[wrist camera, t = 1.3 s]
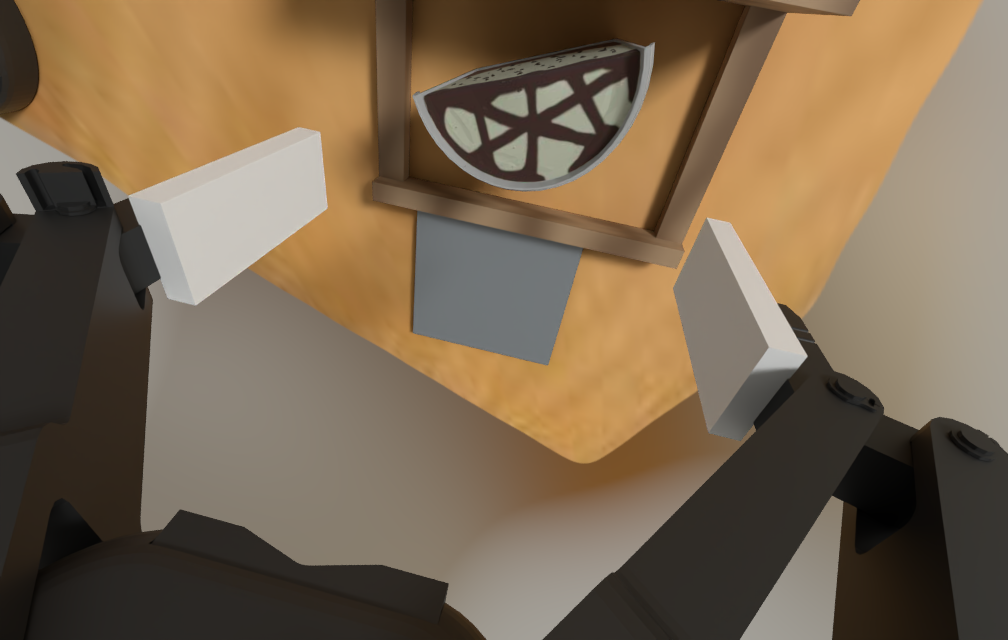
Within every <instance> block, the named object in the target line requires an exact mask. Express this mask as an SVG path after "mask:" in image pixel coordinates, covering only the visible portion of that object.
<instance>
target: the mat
mask: <svg viewBox="0 0 1008 640" xmlns="http://www.w3.org/2000/svg"><path fill="white" fill-rule="evenodd" d="M582 251H583V248H582V247H577V246H573V245H568V244H564V243H559V242H555V241H551V240H546V239H542V238H537V237H533V236H528V235H524V234H520V233H515V232H511V231H506V230H502V229H497V228H493V227H489V226H484V225H480V224H475V223H471V222H466V221H462V220H458V219H453V218H449V217H444V216H440V215H435V214H431V213H427V212H422V211H418V210H417V237H416V266H415V294H414V322H413V333H415V334H419V335H423V336H427V337H432V338H436V339H440V340H444V341H448V342H452V343H457V344H461V345H465V346H469V347H473V348H477V349H482V350H486V351H490V352H494V353H498V354H502V355H507V356H511V357H515V358H519V359H523V360H527V361H532V362H536V363H540V364H544V365H548V364H549V360H550V357H551V354H552V350H553V347H554V344H555V340H556V337H557V334H558V330H559V327H560V324H561V320H562V317H563V314H564V310H565V307H566V304H567V300H568V297H569V294H570V290H571V287H572V284H573V280H574V277H575V274H576V270H577V267H578V264H579V261H580V257H581V254H582Z"/></svg>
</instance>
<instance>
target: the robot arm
mask: <svg viewBox="0 0 1008 640" xmlns="http://www.w3.org/2000/svg"><path fill="white" fill-rule="evenodd" d="M37 85H38V65H37V59H36V54H35V50H34V46H33V43H32V40H31V37H30V34H29V32H28V29H27V27H26V24H25V22H24V20H23V18H22V16H21V14H20V12H19V10H18V8H17V6H16V4H15V2H14V1H13V0H0V114H3V113H9V112H14V111H18V110H20V109H22V108H24V107H25V106H27V105H28V104H29V103H30V102H31V100H32V99H33V97H34V95H35V93H36V90H37ZM16 175H17V177H18V178H19V180H20V182H21V184H22V186H23V188H24V190H25V192H26V193H27V195H28V197H29V199H30V201H31V203H32V205H33V207H34V208H35V210H36V212H35V215H28V214H12V212H11V210H10V208H9V207H8V205H7V203H6V201H5V200H4V198H3V196H2V195H1V194H0V640H486V638H484V636H483V635H482V634H481V633H480V632H479V630H478V629H477V628H476V627H475V626H474V625H473V624H472V623H471V622H470V621H469V620H468V619H467V618H465V617H464V616H463V615H462V614H461V613H460V612H458V611H457V610H455V609H454V608H452V607H451V606H449V605H448V604H446V603H445V600H446V595H447V590H448V583H445V582H441V581H437V580H434V579H430V578H427V577H423V576H420V575H416V574H412V573H409V572H405V571H402V570H398V569H394V568H391V567H387V566H383V565H331V566H329V565H328V566H327V565H326V566H307V565H301V564H299V563H297V562H295V561H293V560H292V559H291V558H289V557H288V556H286V555H285V554H283V553H282V552H280V551H279V550H277V549H276V548H274V547H273V546H271V545H270V544H268V543H267V542H265V541H264V540H262V539H261V538H259V537H258V536H257V535H255V534H253V533H252V532H251V531H249V530H248V529H246V528H245V527H242V526H238V525H234V524H231V523H227V522H224V521H220V520H217V519H213V518H209V517H206V516H202V515H198V514H194V513H191V512H187V511H184V510H179V511H178V512H177V514H176V515H175V516H174V517H173V518H172V520H171V521H170V522H169V523H168V525H167V526H166V527H165V528H164V529H163V530H155V531H147V532H142V531H141V523H140V515H141V497H142V480H143V462H144V445H145V426H146V409H147V392H148V373H149V357H150V339H151V322H152V304H153V299H152V296H151V294H150V292H149V289H148V286H149V285H151V284H152V283H154V282H156V281H157V280H159V279H160V280H161V283H162V285H163V288H164V290H165V292H166V295H167V298H168V299H171V300H175V301H179V302H183V303H187V304H191V305H195V306H196V305H197V304H199V303H200V302H201V301H203V300H204V299H205V298H207V297H208V296H209V295H211V294H212V293H214V292H215V291H216V290H218V289H219V288H220V287H222V286H223V285H224V284H226V283H227V282H228V281H230V280H231V279H232V278H234V277H235V276H237V275H238V274H239V273H241V272H242V271H243V270H245V269H246V268H247V267H249V266H250V265H252V264H253V263H254V262H256V261H257V260H258V259H260V258H261V257H262V256H264V255H265V254H266V253H268V252H269V251H270V250H272V249H273V248H275V247H276V246H277V245H279V244H280V243H281V242H283V241H284V240H285V239H287V238H288V237H289V236H291V235H292V234H294V233H295V232H296V231H298V230H299V229H300V228H302V227H303V226H304V225H306V224H307V223H308V222H310V221H311V220H312V219H314V218H315V217H317V216H318V215H319V214H321V213H322V212H323V211H325V210H326V209H327V208H328V207H327V197H326V187H325V177H324V166H323V156H322V146H321V136H320V132H318V131H314V130H309V129H305V128H300V127H298V128H295V129H293V130H290V131H288V132H286V133H283V134H281V135H278V136H276V137H273V138H271V139H268V140H266V141H263V142H261V143H258V144H256V145H253V146H251V147H248V148H246V149H243V150H241V151H238V152H236V153H233V154H231V155H228V156H226V157H223V158H221V159H218V160H216V161H213V162H211V163H208V164H206V165H204V166H201V167H199V168H196V169H194V170H191V171H189V172H186V173H184V174H181V175H179V176H176V177H174V178H171V179H169V180H166V181H164V182H161V183H159V184H156V185H154V186H151V187H149V188H146V189H144V190H141V191H139V192H136V193H134V194H131V195H129V196H128V199H125V200H123V201H120V202H118V203H115V204H113V202H112V200H111V198H110V195H109V193H108V190H107V188H106V185H105V183H104V181H103V178H102V176H101V173H100V171H99V169H98V167H96V166H94V165H92V164H88V163H82V162H68V161H66V162H65V161H63V162H48V163H43V164H37V165H32V166H30V167H27V168H24V169H21V170H20V171H19V172H17V173H16ZM673 290H674V294H675V298H676V302H677V306H678V310H679V314H680V319H681V323H682V327H683V331H684V335H685V339H686V343H687V347H688V351H689V355H690V359H691V364H692V368H693V372H694V376H695V380H696V384H697V388H698V392H699V396H700V400H701V404H702V408H703V413H704V417H705V421H706V425H707V429H708V433H711V434H714V435H719V436H723V437H727V438H731V439H735V440H739V441H741V440H742V439H743V437H744V436H745V435H746V433H747V432H748V431H749V430H750V428H751V427H752V426H753V425H754V426H755V428H756V432H755V433H754V434H753V435H752V436H751V437H750V438H749V439H748V440H747V441H746V442H745V443H744V444H743V445H742V446H741V447H740V448H739V449H738V450H737V451H736V452H735V453H734V454H733V455H732V456H731V457H730V458H729V459H728V460H727V461H726V462H725V463H724V464H723V465H722V466H721V467H720V468H719V469H718V470H717V471H716V472H715V473H714V474H713V475H712V476H711V477H710V478H709V479H708V480H707V481H706V482H705V483H704V484H703V485H702V486H701V487H700V488H699V489H698V490H697V491H696V492H695V493H694V494H693V495H692V496H691V497H690V498H689V499H688V500H687V501H686V502H685V503H684V504H683V505H682V506H681V507H680V508H679V509H678V510H677V511H676V512H675V514H673V516H671V518H669V519H668V520H667V522H665V523H664V524H663V526H662V527H660V528H659V529H658V530H657V532H655V534H654V535H653V536H652V537H651V538H650V539H649V540H648V541H647V542H646V543H645V544H644V545H643V546H642V547H641V548H640V549H639V550H638V551H637V552H636V553H635V554H634V555H633V556H632V557H631V558H630V559H629V560H628V561H627V562H626V563H625V564H624V565H623V566H622V567H621V568H620V569H619V570H617V571H616V572H615V573H611V574H609V575H608V576H607V577H606V578H604V580H603V581H601V582H600V583H599V584H598V585H597V586H596V587H595V588H594V589H593V590H592V591H591V592H590V593H589V594H588V595H587V596H586V597H585V598H584V599H583V600H582V601H581V602H580V603H579V604H578V605H577V606H576V607H575V608H574V609H573V610H572V611H571V612H570V613H569V614H568V615H567V616H566V617H565V618H564V619H563V620H562V621H561V622H560V623H559V624H558V625H557V626H556V627H555V628H554V629H553V630H552V631H551V632H550V633H549V634H548V635H547V636H546V637H545V638H544V639H543V640H740V638H741V637H742V635H743V633H744V632H745V630H746V629H747V627H748V626H749V624H750V623H751V621H752V619H753V618H754V616H755V615H756V613H757V612H758V610H759V608H760V607H761V605H762V604H763V602H764V601H765V599H766V597H767V596H768V594H769V593H770V591H771V590H772V588H773V587H774V585H775V584H776V582H777V580H778V579H779V577H780V576H781V574H782V573H783V571H784V569H785V568H786V566H787V565H788V563H789V562H790V560H791V558H792V557H793V555H794V554H795V552H796V551H797V549H798V548H799V546H800V544H801V543H802V541H803V540H804V538H805V537H806V535H807V534H808V532H809V530H810V529H811V527H812V526H813V524H814V523H815V521H816V519H817V518H818V516H819V515H820V513H821V512H822V510H823V508H824V507H825V505H826V503H827V502H828V501H829V499H830V498H831V496H834V497H836V498H838V499H840V500H842V501H844V503H843V516H842V527H841V539H840V551H839V564H838V575H837V588H836V599H835V611H834V623H833V636H832V640H1008V454H1007V453H1006V452H1005V451H1004V450H1003V449H1002V448H1001V447H1000V446H999V444H998V443H997V442H996V441H995V440H994V439H992V438H988V435H987V434H985V433H983V432H982V431H980V430H976V429H974V428H972V427H970V426H968V425H966V424H964V423H961V422H958V421H956V420H953V419H949V418H942V417H938V418H935V419H932V420H931V421H929V422H928V423H927V424H926V425H925V426H924V427H922V428H921V429H920V430H917V429H915V428H913V427H910V426H908V425H906V424H903V423H901V422H899V421H896V420H894V419H892V418H889V417H887V416H885V415H883V413H884V407H883V405H882V403H881V402H880V400H879V398H878V397H877V396H876V395H875V394H874V393H872V392H871V390H869V389H868V388H867V387H865V386H864V385H862V384H861V383H859V382H858V381H857V380H854V379H852V378H850V377H848V376H846V375H844V374H841V373H838V372H835V371H833V369H832V368H831V366H830V364H829V363H828V361H827V360H826V358H825V356H824V355H823V353H822V352H821V350H820V348H819V347H818V345H817V344H815V343H814V342H815V340H814V339H813V337H812V336H811V334H810V333H808V329H807V328H806V326H805V324H804V323H803V321H802V320H801V318H800V317H799V316H798V315H796V314H795V313H794V312H793V311H792V310H791V309H790V308H788V307H787V306H786V305H783V304H779V303H776V301H775V299H774V297H773V296H772V294H771V292H770V290H769V289H768V287H767V285H766V284H765V282H764V280H763V278H762V277H761V275H760V273H759V271H758V270H757V268H756V266H755V265H754V263H753V261H752V259H751V258H750V256H749V254H748V253H747V251H746V249H745V247H744V246H743V244H742V242H741V240H740V239H739V237H738V235H737V234H736V232H735V230H734V228H733V227H732V225H731V223H729V222H724V221H720V220H715V219H711V218H706V220H705V222H704V224H703V226H702V228H701V230H700V232H699V235H698V237H697V239H696V241H695V243H694V245H693V247H692V249H691V251H690V254H689V256H688V258H687V260H686V262H685V264H684V266H683V268H682V270H681V273H680V275H679V277H678V279H677V281H676V283H675V285H674V287H673Z"/></svg>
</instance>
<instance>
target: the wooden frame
mask: <svg viewBox="0 0 1008 640" xmlns="http://www.w3.org/2000/svg"><path fill="white" fill-rule="evenodd" d="M375 1H376V49H377V96H378V144H379V177H378V178H376V179H375V180H374V181H373V182H372V189H373V201H378V202H382V203H387V204H391V205H396V206H400V207H404V208H409V209H413V210H418V211H422V212H427V213H431V214H435V215H440V216H444V217H449V218H453V219H458V220H462V221H466V222H471V223H475V224H480V225H484V226H489V227H493V228H497V229H502V230H506V231H511V232H515V233H520V234H524V235H528V236H533V237H537V238H542V239H546V240H551V241H555V242H559V243H564V244H568V245H573V246H577V247H582V248H586V249H590V250H595V251H599V252H604V253H608V254H613V255H617V256H621V257H626V258H630V259H635V260H639V261H644V262H648V263H652V264H657V265H661V266H666V267H670V268H675V269H677V267H678V265H679V262H680V260H681V258H682V256H683V254H684V252H685V251H684V249H683V246H682V242H683V240H684V238H685V236H686V234H687V231H688V229H689V227H690V225H691V223H692V220H693V218H694V216H695V214H696V212H697V209H698V207H699V205H700V203H701V201H702V198H703V196H704V194H705V192H706V190H707V187H708V185H709V183H710V181H711V179H712V176H713V174H714V172H715V170H716V168H717V165H718V163H719V161H720V159H721V157H722V154H723V152H724V150H725V148H726V146H727V143H728V141H729V139H730V137H731V135H732V132H733V130H734V128H735V126H736V124H737V121H738V119H739V117H740V115H741V113H742V110H743V108H744V106H745V104H746V102H747V99H748V97H749V95H750V93H751V91H752V88H753V86H754V84H755V82H756V80H757V77H758V75H759V73H760V71H761V69H762V66H763V64H764V62H765V60H766V58H767V55H768V53H769V51H770V49H771V47H772V44H773V42H774V40H775V38H776V36H777V33H778V31H779V29H780V27H781V25H782V22H783V20H784V18H785V16H786V14H787V13H802V14H820V15H839V16H852V14H853V12H854V10H855V9H856V7H857V5H858V3H859V1H860V0H719V1H724V2H729V3H735V4H740V5H745V8H744V10H743V13H742V15H741V18H740V20H739V23H738V25H737V27H736V30H735V32H734V35H733V37H732V40H731V42H730V45H729V47H728V50H727V52H726V55H725V57H724V60H723V62H722V65H721V67H720V70H719V72H718V75H717V77H716V80H715V82H714V85H713V87H712V89H711V92H710V94H709V97H708V99H707V102H706V104H705V107H704V109H703V112H702V114H701V117H700V119H699V122H698V124H697V127H696V129H695V132H694V134H693V137H692V139H691V142H690V144H689V147H688V149H687V151H686V154H685V156H684V159H683V161H682V164H681V166H680V169H679V171H678V174H677V176H676V179H675V181H674V184H673V186H672V189H671V191H670V194H669V196H668V199H667V201H666V204H665V206H664V209H663V211H662V213H661V216H660V218H659V221H658V223H657V226H656V228H655V231H651V230H646V229H642V228H637V227H633V226H628V225H623V224H619V223H614V222H610V221H605V220H601V219H596V218H592V217H587V216H583V215H578V214H574V213H569V212H565V211H560V210H556V209H551V208H547V207H542V206H538V205H533V204H529V203H524V202H520V201H515V200H511V199H506V198H502V197H497V196H493V195H488V194H484V193H479V192H475V191H470V190H466V189H461V188H457V187H452V186H448V185H443V184H439V183H434V182H430V181H425V180H421V179H416V178H412V177H409V153H410V107H411V60H412V14H413V0H375Z"/></svg>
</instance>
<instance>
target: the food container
mask: <svg viewBox="0 0 1008 640" xmlns="http://www.w3.org/2000/svg"><path fill="white" fill-rule="evenodd" d="M654 47H655V42H653V43H651V44H650V45H649V46H646V47H644V46H641V45H638V44H634V43H631V42H628V41H625V40H621V39H618V38H616V39H611V40H607V41H602V42H598V43H593V44H588V45H584V46H579V47H574V48H570V49H565V50H561V51H556V52H551V53H547V54H542V55H537V56H533V57H528V58H524V59H519V60H514V61H510V62H505V63H500V64H496V65H491V66H487V67H482V68H477V69H474V70H472V71H470V72H467V73H465V74H463V75H461V76H458V77H456V78H454V79H451V80H449V81H447V82H444V83H442V84H440V85H438V86H435V87H433V88H431V89H428V90H426V91H424V92H422V93H420V91H419V92H416V93H415V94H414V95H413V99H414V101H415V104H416V107H417V110H418V112H419V115H420V117H421V119H422V121H423V123H424V125H425V127H426V129H427V131H428V132H429V134H430V135H431V136H432V138H433V139H434V141H435V142H436V144H437V145H438V146H439V148H440V149H441V150H442V151H443V152H444V153H445V154H446V155H447V156H448V157H449V159H451V160H452V161H453V162H454V163H455V164H456V165H458V166H459V167H460V168H461V169H462V170H464V171H465V172H467V173H469V174H470V175H472V176H473V177H475V178H477V179H479V180H481V181H483V182H485V183H488V184H490V185H492V186H496V187H500V188H504V189H507V190H516V191H541V190H546V189H550V188H555V187H559V186H561V185H564V184H567V183H569V182H572V181H574V180H576V179H578V178H579V177H581V176H583V175H585V174H586V173H588V172H589V171H591V170H592V169H593V168H595V167H596V166H597V165H598V164H600V163H601V162H602V161H603V160H604V159H605V158H606V157H607V156H608V155H609V154H610V153H611V152H612V151H613V150H614V149H615V148H616V147H617V146H618V145H619V143H620V142H621V141H622V139H623V138H624V136H625V135H626V134H627V132H628V131H629V129H630V128H631V126H632V125H633V123H634V121H635V119H636V117H637V115H638V113H639V111H640V109H641V107H642V104H643V101H644V98H645V96H646V93H647V90H648V87H649V83H650V78H651V73H652V68H653V62H654Z"/></svg>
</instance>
